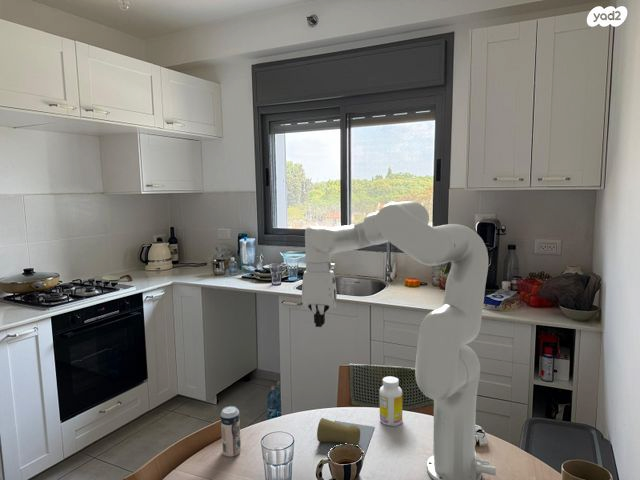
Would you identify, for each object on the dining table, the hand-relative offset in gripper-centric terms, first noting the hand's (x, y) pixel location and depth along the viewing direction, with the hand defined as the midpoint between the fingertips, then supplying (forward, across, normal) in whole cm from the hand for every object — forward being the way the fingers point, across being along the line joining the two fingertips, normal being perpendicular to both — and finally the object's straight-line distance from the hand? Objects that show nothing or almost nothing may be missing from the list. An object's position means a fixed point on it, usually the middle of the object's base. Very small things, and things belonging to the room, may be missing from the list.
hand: (319, 325), depth 132 cm
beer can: (+27, +16, +28) cm, 42 cm away
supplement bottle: (+27, -22, +1) cm, 35 cm away
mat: (+27, -12, +14) cm, 33 cm away
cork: (+24, -5, +16) cm, 29 cm away
